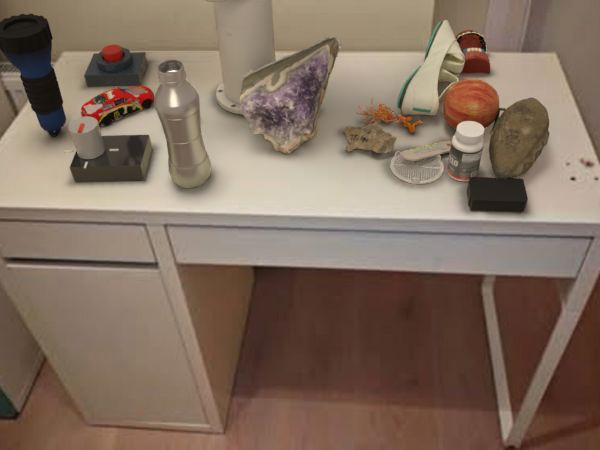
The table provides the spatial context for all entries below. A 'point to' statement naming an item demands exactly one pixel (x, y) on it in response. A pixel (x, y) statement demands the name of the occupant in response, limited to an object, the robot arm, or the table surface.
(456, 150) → the pill bottle
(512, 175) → the stone
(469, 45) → the dental model
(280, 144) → the gemstone
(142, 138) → the panel
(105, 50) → the button
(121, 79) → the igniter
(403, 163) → the drain cover
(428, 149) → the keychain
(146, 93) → the race car
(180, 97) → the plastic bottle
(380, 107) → the dragon
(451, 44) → the white wedge shoe
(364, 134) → the artifact
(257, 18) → the robot arm
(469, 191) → the ink cartridge
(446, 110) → the fruit
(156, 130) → the table surface
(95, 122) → the stove knob
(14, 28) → the flashlight
